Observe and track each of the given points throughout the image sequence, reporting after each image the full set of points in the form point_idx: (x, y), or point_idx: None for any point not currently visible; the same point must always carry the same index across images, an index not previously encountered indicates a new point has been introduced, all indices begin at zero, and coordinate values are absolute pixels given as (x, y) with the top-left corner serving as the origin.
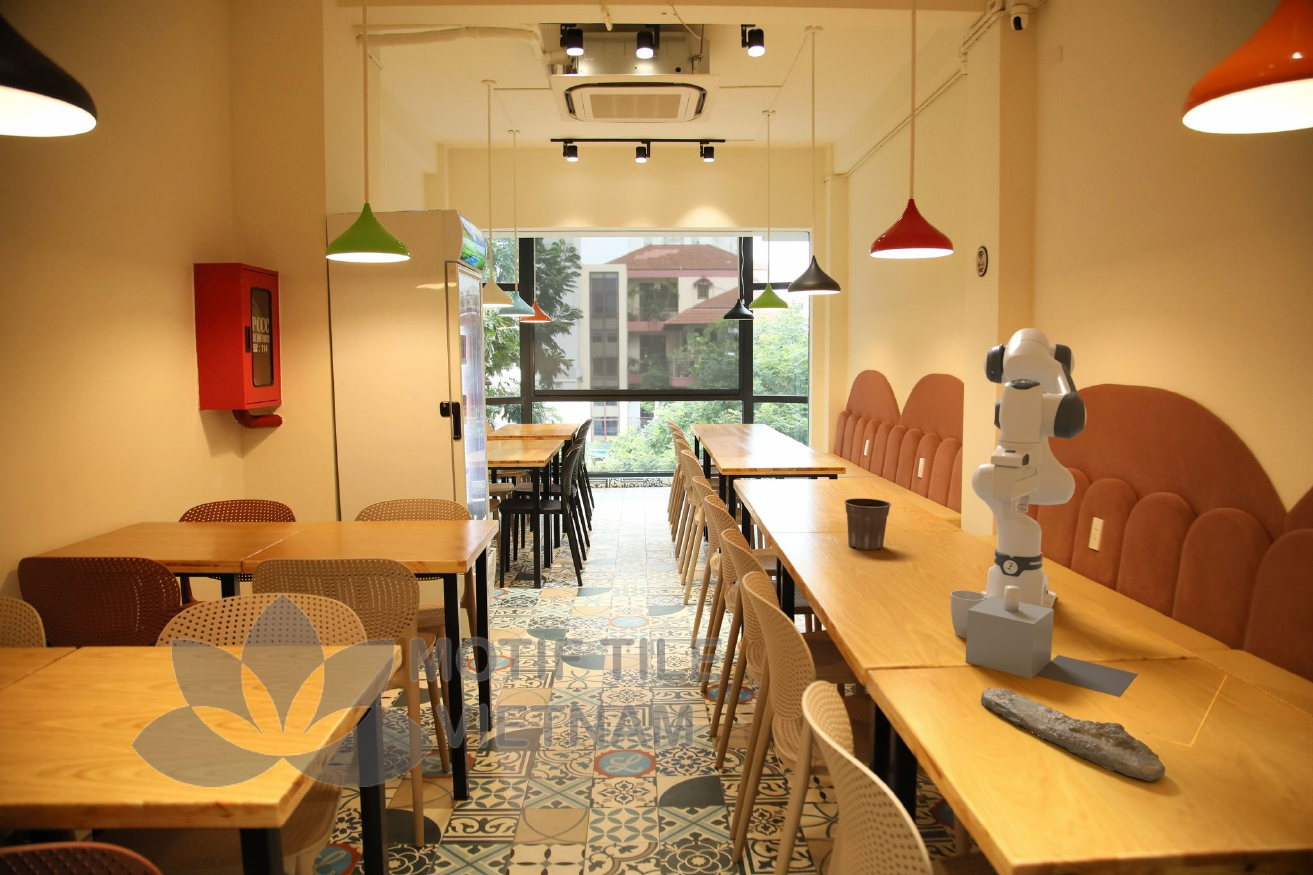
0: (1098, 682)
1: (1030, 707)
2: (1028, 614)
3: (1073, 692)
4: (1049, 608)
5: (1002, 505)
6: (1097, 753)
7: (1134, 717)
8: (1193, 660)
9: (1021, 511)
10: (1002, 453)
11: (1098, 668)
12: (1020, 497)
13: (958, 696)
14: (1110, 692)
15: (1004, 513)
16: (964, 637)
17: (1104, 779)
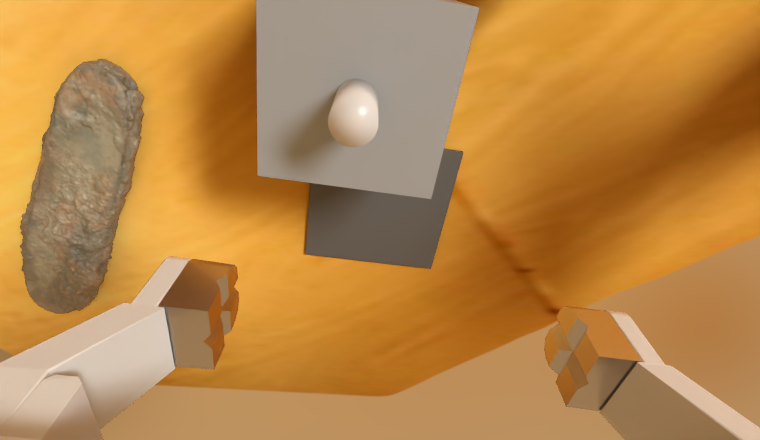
0: (350, 225)
1: (91, 159)
2: (337, 151)
3: (283, 195)
4: (431, 189)
5: (25, 360)
6: (22, 255)
7: (246, 270)
8: (548, 321)
9: (563, 329)
10: None
11: (422, 219)
12: (720, 428)
13: (83, 7)
14: (315, 242)
15: (147, 295)
16: None
17: (9, 253)
